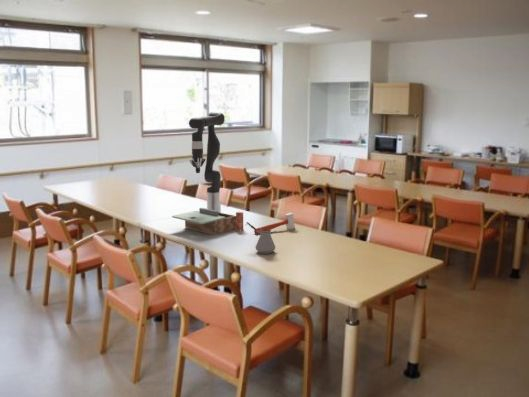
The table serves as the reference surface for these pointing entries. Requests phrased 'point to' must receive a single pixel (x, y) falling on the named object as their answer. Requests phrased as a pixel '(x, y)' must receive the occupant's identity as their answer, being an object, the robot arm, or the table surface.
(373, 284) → the table surface
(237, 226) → the pin
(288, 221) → the mallet
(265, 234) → the coffee pot
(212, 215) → the toolbox lid
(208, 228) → the toolbox
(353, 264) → the table surface
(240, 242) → the table surface
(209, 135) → the robot arm
